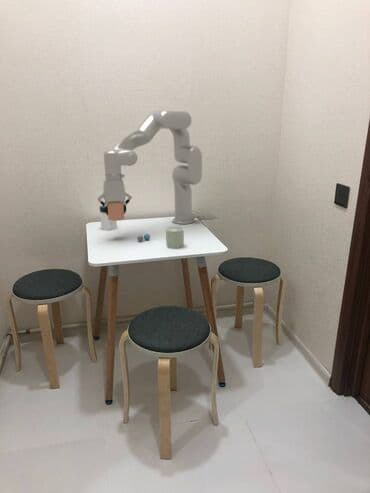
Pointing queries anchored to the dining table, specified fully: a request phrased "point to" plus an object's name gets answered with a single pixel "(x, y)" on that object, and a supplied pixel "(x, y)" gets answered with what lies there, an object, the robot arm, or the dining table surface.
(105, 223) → the jar
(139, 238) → the marble
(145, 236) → the marble
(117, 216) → the peach octagonal canister
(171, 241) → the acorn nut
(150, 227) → the dining table surface
